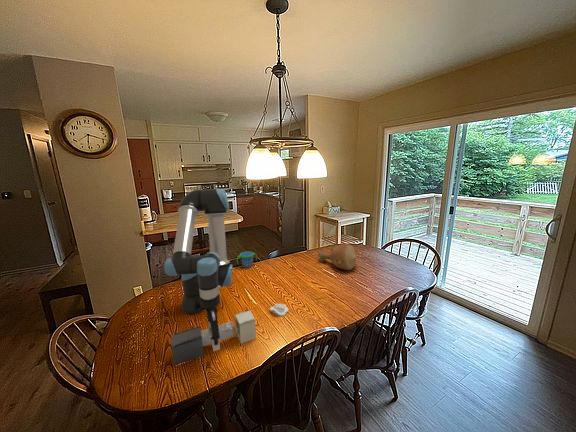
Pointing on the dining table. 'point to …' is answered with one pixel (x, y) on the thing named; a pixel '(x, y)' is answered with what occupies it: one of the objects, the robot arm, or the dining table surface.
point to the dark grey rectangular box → (187, 345)
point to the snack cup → (246, 258)
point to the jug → (340, 256)
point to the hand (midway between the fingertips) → (214, 342)
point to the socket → (245, 326)
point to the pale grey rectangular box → (224, 332)
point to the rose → (279, 309)
